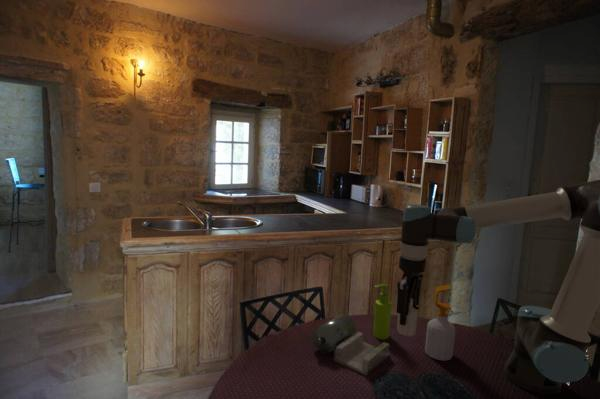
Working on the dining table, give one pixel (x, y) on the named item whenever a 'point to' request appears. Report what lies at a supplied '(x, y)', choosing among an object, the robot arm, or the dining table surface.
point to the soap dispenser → (382, 314)
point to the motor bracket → (348, 345)
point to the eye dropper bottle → (411, 320)
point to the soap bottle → (440, 331)
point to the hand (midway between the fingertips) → (405, 331)
